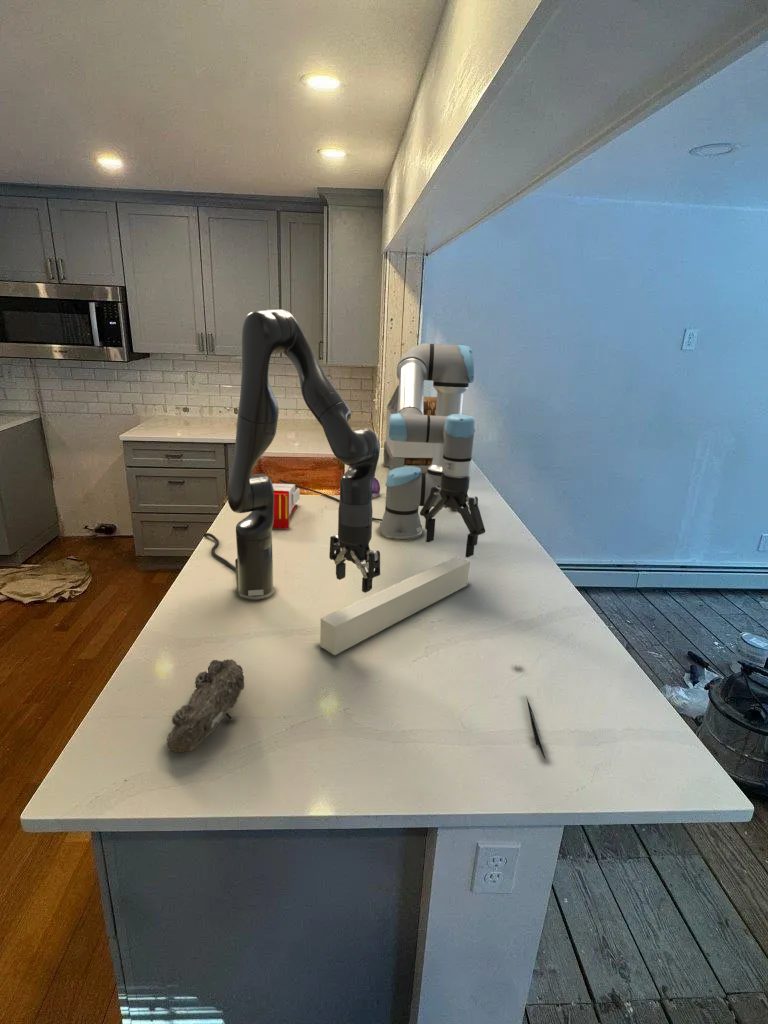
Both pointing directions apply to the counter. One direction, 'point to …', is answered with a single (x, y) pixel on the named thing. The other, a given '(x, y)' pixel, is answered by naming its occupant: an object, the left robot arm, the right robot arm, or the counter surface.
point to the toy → (284, 504)
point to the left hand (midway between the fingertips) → (353, 584)
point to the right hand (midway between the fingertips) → (449, 548)
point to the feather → (535, 728)
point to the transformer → (407, 451)
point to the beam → (391, 605)
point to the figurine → (375, 487)
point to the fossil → (206, 705)
